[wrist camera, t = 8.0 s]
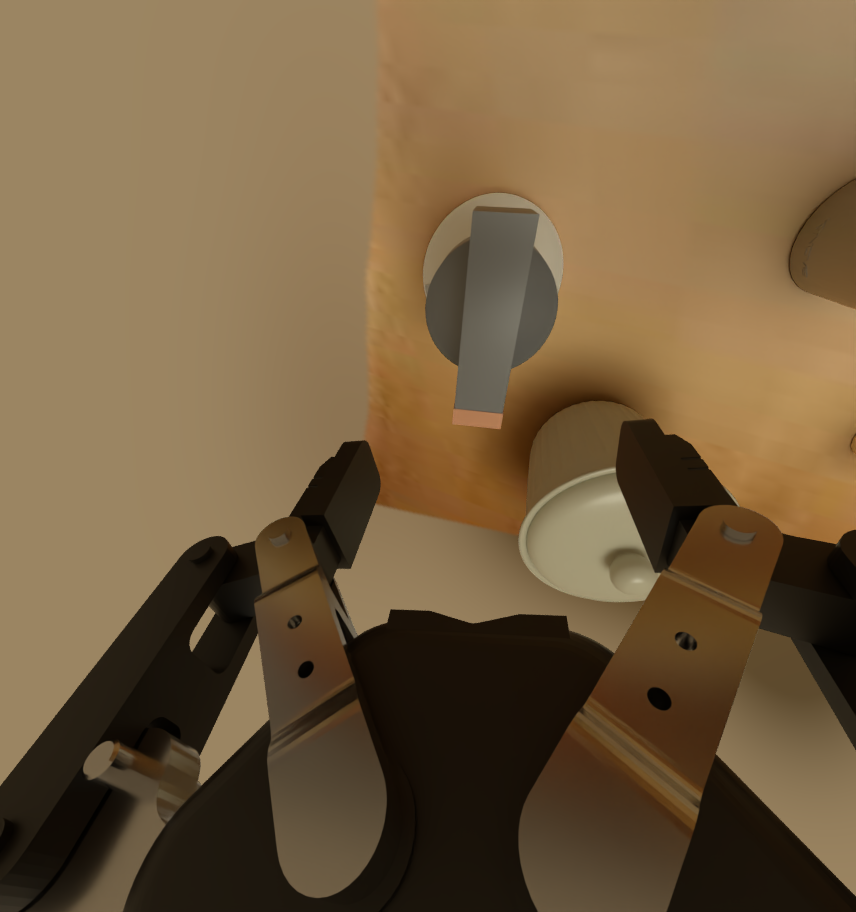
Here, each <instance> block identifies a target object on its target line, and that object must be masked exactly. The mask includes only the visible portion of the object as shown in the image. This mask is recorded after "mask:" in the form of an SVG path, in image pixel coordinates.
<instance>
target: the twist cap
mask: <svg viewBox="0 0 856 912" xmlns="http://www.w3.org/2000/svg"><path fill="white" fill-rule="evenodd" d="M539 215H540V214H538V213H537V212H535V211H534V210H532V209H527V208H507V207H488V206H476V207H475V209H474V210H473V213H472V224H471V235H470V237H468V238H466V239H465V240H463V241H462V242H460V243H459V244H458V245H456V246H455V247H454V248H453V249H452V250H451V251H450V252H449V254H448V255H447V256H446V258H445V259H444V261H443V262H442V264H441V265H440V267H439V268H438V270H437V271H436V273H435V275H434V277H433V279H432V281H431V283H430V286H429V289H428V293H427V297H426V306H425V310H426V321H427V326H428V330H429V333H430V335H431V337H432V340H433V341H434V343H435V345H436V346H437V348H438V349H439V350H440V352H441V353H442V354H443V355H444V356H445V357H446V358H447V359H448V360H450V361H451V362H452V363H454V364H456V365H457V366H458V376H457V387H456V398H455V404H454V411H453V422H452V424H457V425H466V426H475V427H484V428H493V429H501V424H502V418H503V408H504V403H505V398H506V392H507V387H508V382H509V376H510V371H511V369H512V368H514V367H516V366H518V365H520V364H522V363H524V362H525V361H527V360H528V359H529V358H531V357H532V356H533V355H534V354H535V353H536V352H537V351H538V350H539V349H540V348H541V346H542V345H543V344H544V343H545V341H546V339H547V338H548V336H549V335H550V332H551V330H552V328H553V325H554V322H555V319H556V314H557V309H558V294H557V287H556V283H555V279H554V277H553V274H552V272H551V270H550V268H549V266H548V265H547V263H546V261H545V260H544V258H543V257H542V255H541V254H540V253H539V251H538V250H537V249H536V248H535V247H534V242H535V237H536V232H537V226H538V221H539Z"/></svg>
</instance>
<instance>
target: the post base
mask: <svg viewBox="0 0 856 912" xmlns="http://www.w3.org/2000/svg"><path fill="white" fill-rule="evenodd" d="M476 206H488V207H507V208H527V209H532V210H534V211H535V212H537V213H538V214H540V215H539V221H538V226H537V232H536V237H535V242H534V247H535V248H536V249H537V250H538V251H539V253H540V254H541V255H542V257H543V258H544V260H545V261H546V263H547V265H548V266H549V268H550V270H551V272H552V274H553V277H554V279H555V283H556V287H557V294H558V291H559V289H560V285H561V281H562V276H563V252H562V246H561V242H560V239H559V236H558V233H557V231H556V229H555V227H554V225H553V224H552V222H551V221H550V219H549V218H548V216H547V215H546V214H545V213H544V212H543V211H542V210H541V209H540V208H539V207H537V206H536V205H535V204H533V203H532V202H530V201H528V200H526V199H524V198H522V197H519V196H517V195H514V194H508V193H489V194H484V195H480V196H477V197H474V198H472V199H470V200H468V201H466V202H464V203H463V204H461V205H460V206H458V207H457V208H455V209H454V210H453V211H452V212H451V213H450V214H449V215H448V216H447V217H446V218H445V219H444V220H443V221H442V222H441V224H440V225H439V227H438V228H437V230H436V231H435V233H434V235H433V237H432V239H431V240H430V243H429V246H428V248H427V251H426V255H425V259H424V267H423V284H424V291H425V295H426V297H427V293H428V289H429V286H430V283H431V281H432V279H433V277H434V275H435V273H436V271H437V270H438V268H439V267H440V265H441V264H442V262H443V261H444V259H445V258H446V256H447V255H448V254H449V252H450V251H451V250H452V249H453V248H454V247H455V246H456V245H458V244H459V243H460V242H462V241H463V240H465V239H466V238H468V237H470V235H471V224H472V213H473V210H474V209H475V207H476Z"/></svg>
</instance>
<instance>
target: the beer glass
mask: <svg viewBox="0 0 856 912" xmlns="http://www.w3.org/2000/svg"><path fill="white" fill-rule="evenodd" d="M851 449H852V451H853V452H854V453H855V454H856V435H855V437H854V438H853V440H852V443H851Z"/></svg>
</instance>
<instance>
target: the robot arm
mask: <svg viewBox="0 0 856 912" xmlns="http://www.w3.org/2000/svg"><path fill="white" fill-rule="evenodd" d="M790 272H791V275H792V278H793V280H794V282H795V283H796V284H797V286H798V287H800V288H801V289H803V290H804V291H806V292H808V293H811V294H814V295H817V296H819V297H822V298H825V299H828V300H831V301H834V302H837V303H839V304H842V305H845V306H847V307H850V308H853V309H856V180H854V181H852V182H850V183H848V184H847V185H845V186H844V187H843V188H841V189H840V190H838V191H837V192H836V193H834V194H833V195H832V196H831V197H830V198H828V199H827V200H826V201H825V202H824V203H823V204H822V205H821V206H820V207H819V208H818V209H817V210H816V211H815V212H814V213H813V215H812V216H811V217H810V218H809V219H808V221H807V222H806V224H805V225H804V227H803V228H802V230H801V231H800V233H799V234H798V237H797V239H796V241H795V243H794V246H793V248H792V253H791V257H790ZM616 477H617V482H618V485H619V487H620V489H621V492H622V494H623V497H624V499H625V502H626V504H627V506H628V509H629V511H630V514H631V516H632V519H633V521H634V523H635V526H636V528H637V531H638V533H639V536H640V538H641V541H642V543H643V545H644V548H645V550H646V553H647V555H648V558H649V560H650V562H651V565H652V567H653V570H654V572H655V573H661V574H660V576H659V577H658V579H657V581H656V582H655V584H654V586H653V588H652V589H651V591H650V593H649V594H648V596H647V598H646V600H645V601H644V603H643V605H642V607H641V608H640V610H639V612H638V614H637V615H636V617H635V619H634V620H633V622H632V624H631V626H630V627H629V629H628V631H627V633H626V634H625V636H624V638H623V639H622V642H621V643H620V645H619V646H618V648H617V650H616V651H615V653H613V652H612V651H610V650H609V649H607V648H606V647H604V646H603V645H601V644H600V643H598V642H596V641H594V640H592V639H590V638H588V637H586V636H583V635H581V634H578V633H575V632H572V631H569V629H568V622H567V617H566V616H552V615H526V614H518V615H514V616H509V617H504V618H500V619H495V620H490V621H485V622H480V623H474V624H473V623H468V622H465V621H461V620H458V619H455V618H451V617H448V616H445V615H442V614H439V613H435V612H432V611H418V610H392V609H391V610H390V614H389V618H388V622H387V623H385V624H382V625H379V626H376V627H373V628H371V629H369V630H367V631H365V632H363V633H362V634H360V635H359V636H358V635H357V633H356V631H355V628H354V626H353V624H352V621H351V618H350V616H349V613H348V611H347V608H346V606H345V603H344V601H343V598H342V595H341V593H340V590H339V588H338V585H337V582H336V580H335V578H334V574H335V572H336V570H337V569H339V568H340V569H342V568H343V569H350V568H351V566H352V564H353V561H354V559H355V556H356V553H357V551H358V548H359V545H360V543H361V540H362V537H363V535H364V532H365V529H366V527H367V524H368V522H369V519H370V516H371V514H372V511H373V508H374V506H375V503H376V500H377V498H378V495H379V492H380V476H379V472H378V469H377V467H376V464H375V461H374V458H373V455H372V452H371V449H370V446H369V444H368V442H367V441H365V440H364V441H351V442H344V443H343V444H342V445H341V447H340V449H339V450H338V452H337V454H336V456H335V457H331V458H330V459H328V460H327V461H326V462H325V463H324V464H323V465H321V466H320V467H319V469H318V471H317V472H316V474H315V476H314V479H312V480H311V482H310V484H309V485H308V488H306V490H305V492H304V493H303V495H302V496H301V498H300V500H299V501H298V503H297V504H296V506H295V508H294V509H293V511H292V512H291V514H290V516H289V517H285V518H281V519H279V520H276V521H274V522H273V523H271V524H269V525H268V526H267V527H265V528H264V529H263V530H262V531H261V532H260V534H259V535H258V537H257V539H256V541H253V542H250V543H245V544H242V545H238V546H235V547H232V546H231V545H230V544H229V542H228V541H227V540H226V539H225V538H224V537H221V536H214V537H209V538H206V539H204V540H202V541H199V542H198V543H196V544H194V545H193V546H191V547H190V548H189V549H188V550H187V551H185V552H184V553H183V555H182V556H181V557H180V558H179V559H178V561H177V562H176V563H175V565H174V566H173V567H172V568H171V570H170V571H169V572H168V573H167V575H166V576H165V577H164V579H163V580H162V581H161V582H160V584H159V585H158V586H157V587H156V589H155V590H154V591H153V592H152V594H151V595H150V596H149V598H148V599H147V600H146V601H145V603H144V604H143V605H142V606H141V608H140V609H139V610H138V612H137V613H136V614H135V616H134V617H133V618H132V619H131V620H130V622H129V623H128V624H127V626H126V627H125V628H124V630H123V631H122V632H121V633H120V634H119V636H118V637H117V638H116V640H115V641H114V642H113V643H112V645H111V646H110V647H109V649H108V650H107V651H106V652H105V654H104V655H103V656H102V657H101V659H100V660H99V661H98V662H97V664H96V665H95V666H94V668H93V669H92V670H91V672H90V673H89V674H88V675H87V676H86V678H85V679H84V680H83V682H82V683H81V684H80V685H79V687H78V688H77V689H76V690H75V692H74V693H73V695H72V696H71V697H70V698H69V699H68V701H67V702H66V703H65V704H64V706H63V707H62V708H61V710H60V711H59V712H58V713H57V715H56V716H55V717H54V718H53V720H52V721H51V722H50V724H49V725H48V726H47V727H46V729H45V730H44V731H43V733H42V734H41V735H40V736H39V738H38V739H37V740H36V741H35V743H34V744H33V745H32V746H31V748H30V749H29V750H28V752H27V753H26V754H25V756H24V757H23V758H22V759H21V761H20V762H19V763H18V764H17V766H16V767H15V768H14V770H13V771H12V772H11V773H10V774H9V776H8V777H7V778H6V780H5V781H4V782H3V783H2V785H1V786H0V912H856V896H855V895H854V894H853V893H852V892H851V891H850V890H849V889H848V888H847V887H846V886H845V885H844V884H843V883H842V882H841V881H840V880H839V879H838V878H837V877H836V876H835V875H834V874H833V873H832V872H831V871H830V870H829V869H828V868H827V867H826V866H825V865H824V864H823V863H822V862H821V861H820V860H819V859H818V858H817V857H816V856H815V855H814V854H813V853H812V851H810V849H808V848H807V846H806V845H805V844H804V843H803V842H802V841H801V840H800V839H799V838H798V837H797V836H796V835H795V834H794V833H793V832H792V831H791V830H790V829H789V828H788V827H787V826H786V825H785V824H784V823H783V822H782V821H781V820H780V819H779V818H778V817H777V816H776V815H775V814H774V813H773V812H772V811H771V810H770V809H769V808H768V807H767V806H766V805H765V804H764V803H763V802H762V801H761V800H760V799H759V798H758V796H757V795H756V794H754V792H752V790H751V789H749V787H748V786H747V785H746V784H745V783H744V782H743V781H742V780H741V779H740V778H739V777H738V776H737V775H736V774H735V773H734V772H733V771H732V770H731V769H730V768H729V767H728V766H727V765H726V764H725V763H724V762H723V761H722V760H721V759H720V758H719V757H718V756H717V755H716V752H717V748H718V746H719V743H720V740H721V737H722V734H723V731H724V728H725V725H726V723H727V720H728V717H729V714H730V711H731V708H732V705H733V702H734V699H735V696H736V693H737V690H738V687H739V685H740V682H741V679H742V676H743V673H744V669H745V666H746V664H747V661H748V658H749V655H750V652H751V649H752V646H753V644H754V641H755V638H756V635H757V632H758V629H763V630H766V631H770V632H773V633H777V634H781V635H784V636H787V637H791V639H792V641H793V643H794V644H795V646H796V648H797V649H798V651H799V653H800V654H801V656H802V658H803V660H804V662H805V663H806V665H807V667H808V668H809V670H810V672H811V674H812V675H813V677H814V679H815V680H816V682H817V684H818V686H819V687H820V689H821V691H822V693H823V694H824V696H825V698H826V700H827V701H828V703H829V705H830V706H831V708H832V710H833V712H834V713H835V715H836V716H837V718H838V720H839V722H840V724H841V725H842V727H843V729H844V731H845V732H846V734H847V736H848V737H849V739H850V741H851V743H852V744H853V746H854V748H855V750H856V530H852V531H849V532H847V533H845V534H844V535H843V536H842V537H841V539H840V540H839V542H838V543H837V544H832V543H827V542H822V541H816V540H811V539H806V538H800V537H795V536H790V535H786V534H783V533H781V531H780V530H779V528H778V527H777V526H776V525H775V524H774V523H773V522H772V521H770V520H769V519H768V518H766V517H764V516H763V515H761V514H759V513H757V512H755V511H752V510H749V509H746V508H743V507H738V506H737V504H736V503H735V502H734V500H733V499H732V498H731V496H730V495H729V494H728V492H727V491H726V490H725V488H724V487H723V486H722V484H721V483H720V482H719V480H718V479H717V478H716V476H715V475H714V474H713V472H712V471H711V470H709V469H708V466H707V464H706V463H705V462H704V460H703V459H701V456H700V455H699V454H698V453H697V451H696V450H695V449H694V447H693V446H692V445H691V444H690V443H688V442H687V441H685V440H683V439H682V438H680V437H678V436H677V435H675V434H673V435H664V433H663V432H662V430H661V429H660V427H659V426H658V424H657V423H656V421H655V420H654V419H642V420H629V421H623V423H622V425H621V429H620V436H619V444H618V451H617V458H616ZM208 606H209V607H210V608H211V609H212V610H213V611H214V612H215V615H214V617H213V618H212V620H211V622H210V623H209V625H208V627H207V628H206V630H205V632H204V633H203V635H202V637H201V638H200V640H199V642H198V644H197V645H196V647H195V648H194V650H193V652H191V650H190V646H189V642H190V637H191V634H192V632H193V630H194V628H195V627H196V625H197V624H198V622H199V620H200V619H201V617H202V616H203V614H204V612H205V611H206V609H207V608H208ZM257 634H258V636H259V644H260V651H261V659H262V666H263V675H264V682H265V690H266V697H267V705H268V712H269V720H268V721H267V722H266V723H265V724H264V725H263V726H262V727H261V728H260V729H259V730H258V731H257V732H256V733H255V734H254V735H253V736H252V737H251V738H250V739H249V740H248V741H247V742H246V743H245V744H244V745H243V746H242V747H241V748H240V749H239V750H237V751H236V752H235V753H234V755H232V756H231V757H230V758H229V759H228V760H227V761H226V762H225V763H224V764H223V765H222V766H221V767H220V768H219V769H218V770H217V771H216V772H215V773H214V774H213V775H212V776H211V777H210V778H209V779H208V780H207V781H206V782H205V783H204V784H203V785H202V786H201V784H200V782H199V781H198V778H199V773H200V757H199V756H200V754H201V752H202V750H203V748H204V746H205V744H206V741H207V739H208V737H209V735H210V733H211V731H212V729H213V727H214V725H215V723H216V720H217V718H218V716H219V714H220V712H221V710H222V708H223V706H224V704H225V701H226V699H227V697H228V695H229V693H230V691H231V689H232V687H233V685H234V682H235V680H236V678H237V676H238V674H239V672H240V670H241V668H242V666H243V664H244V661H245V659H246V657H247V655H248V653H249V651H250V649H251V647H252V644H253V643H254V640H255V638H256V636H257Z"/></svg>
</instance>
